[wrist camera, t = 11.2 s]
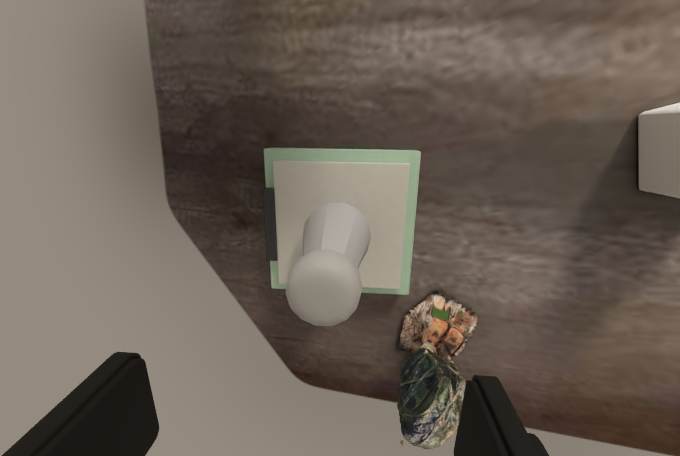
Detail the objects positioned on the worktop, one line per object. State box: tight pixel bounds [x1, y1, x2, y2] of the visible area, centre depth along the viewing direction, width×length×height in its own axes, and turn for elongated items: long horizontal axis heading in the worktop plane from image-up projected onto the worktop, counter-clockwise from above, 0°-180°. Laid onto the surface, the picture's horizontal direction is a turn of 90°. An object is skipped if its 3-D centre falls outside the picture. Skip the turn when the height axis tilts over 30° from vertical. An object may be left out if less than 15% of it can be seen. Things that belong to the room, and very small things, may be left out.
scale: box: [263, 148, 421, 295], centre depth 31 cm, size 14×14×3 cm
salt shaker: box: [286, 203, 371, 326], centre depth 23 cm, size 6×6×13 cm
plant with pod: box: [397, 290, 478, 449], centre depth 26 cm, size 8×11×20 cm
